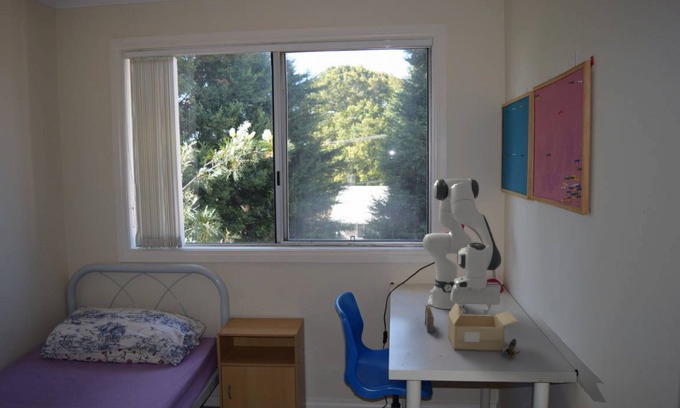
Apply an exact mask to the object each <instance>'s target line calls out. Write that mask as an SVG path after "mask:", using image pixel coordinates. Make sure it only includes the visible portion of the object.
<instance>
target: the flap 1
mask: <svg viewBox="0 0 680 408" xmlns="http://www.w3.org/2000/svg"><path fill="white" fill-rule="evenodd" d="M461 315H462V311H461V308H460V307H459V306H458V304H455V305H454V306H453V308H452V309H450V310H449V312H448V316H450V318H451V320H452V322H453V324H454V325H455V324H456V323H457V321H458V319H459V318H460V316H461Z"/></svg>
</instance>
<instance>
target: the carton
mask: <svg viewBox="0 0 680 408" xmlns="http://www.w3.org/2000/svg"><path fill="white" fill-rule="evenodd" d="M447 316H448V317H447V319H448V321H447V322H448V323H447V325H448V326H447V337H448V340H449V342H450V344H451V346H452V347H451V348H452V349H453V350H454V351H471V352H472V351H473V352H500V351H502V350H503V349H505V347H504V344H505V327H504V326H503V325H502V324H501V322H500V321H499V320H498V318H497V317H496V316H495V315H491V314H466V313H465V314H462V315H461V316H460V318H459V319H458V321H457V323H456V324H455V325H454V324H453V322H452V320H451V318H450V316H449V315H447Z"/></svg>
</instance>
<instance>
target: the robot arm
mask: <svg viewBox="0 0 680 408" xmlns="http://www.w3.org/2000/svg"><path fill="white" fill-rule="evenodd" d="M479 193H480V185H479V182H478V181H477V180H476V179H473V178H459V177H458V178H447V179H446V178H445V179H443V178H442V179H441V178H440V179H438V180H436V181H435V182H434V184H433V186H432V194H433V196H434V198H435V199H436V200H437V201H439V210H438V223H439V225H441V226H442V227H443V228H445V229H447V230H448V231H449V232H432V233H427V234H425V235H424V237H423V239H422V247H423V249H424V251H425V252H427V253H428V254H429V256H431V258H432V259H433V261H434V265H435V279H434V286H433V288H432V289H431V290H429V296H428V301H427V306H429V307H434V308H437V309H441V310H451V309H452V308H453V306H454V305H455V304H458V306H459V308H460V309H461V311H462V314H465V315H466V308H464V305H486V307H485V308H484V309H483V315H489V311H490V310H491V308H492V305H493V306H494V305H497V306H498V305H499V304H500V303H501V290H502V287H501V284H500V283H499V282H496V281H494V282H492V281H488V273H487V271H496V270H497V269H498V268H500V266H501V264H502V255H501V253H500V250H499V248H498V246H497V244H496V242H495V239H494V236H493V233H492V230H491V228H490V225H489V221H488V219H487V218H486V216H485V214H482V213H481V211H479V209H478V207H477V205H476V199H477V198H478V197H479ZM462 225H464V226H467V227H470V228H472V229H474V230H476V231H477V232H478V233H479V235H480V239H481V240H482V242H481V243H480V242H473V238H472V237H471V236H470V235H469V234H468V233H467V232H466V231H465V230H464V228H463V226H462ZM449 254H450V255H457V256H456V259H457V260H456V262H454V261H453V260H451V259H450V258H448V257H447V255H449ZM458 266H459V267H460V268H461V269H463V270H465V275H463V276H460V277H458Z"/></svg>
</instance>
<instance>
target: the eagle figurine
mask: <svg viewBox="0 0 680 408" xmlns="http://www.w3.org/2000/svg"><path fill="white" fill-rule="evenodd" d="M515 347H517V339H515V338H512V340H511V341H510V342H509V345H508V346H507V347H504V348H503V350H502V351H501V353H507V356H509V361H511V360H512V359H513V358H516V355H517V354H519V353H521V350H519V351H517V352H516V350H515Z"/></svg>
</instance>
